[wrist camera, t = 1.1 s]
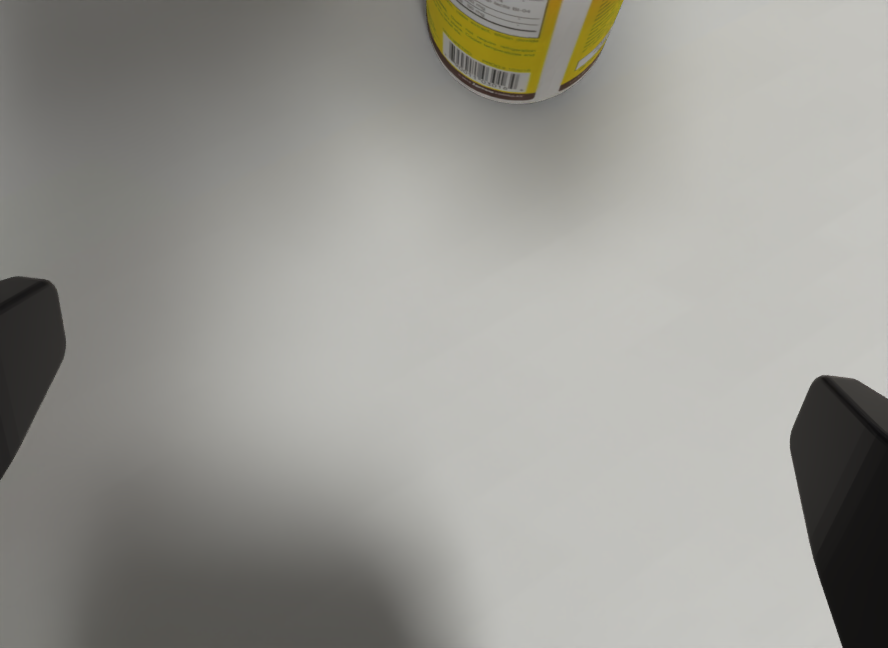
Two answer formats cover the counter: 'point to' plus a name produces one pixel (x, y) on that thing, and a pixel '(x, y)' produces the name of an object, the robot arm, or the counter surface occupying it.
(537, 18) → the supplement bottle
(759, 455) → the counter surface
